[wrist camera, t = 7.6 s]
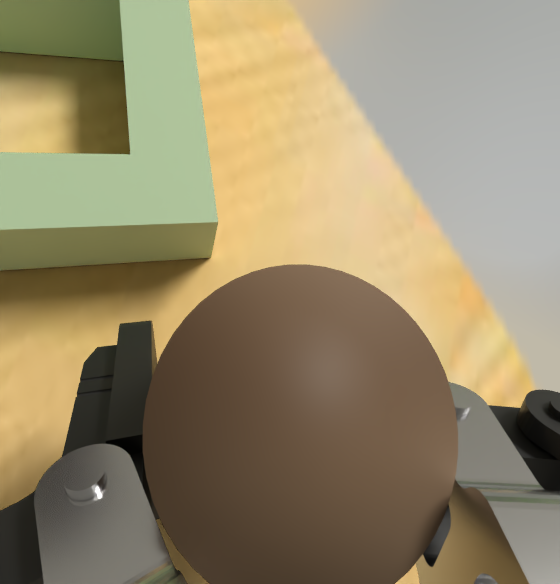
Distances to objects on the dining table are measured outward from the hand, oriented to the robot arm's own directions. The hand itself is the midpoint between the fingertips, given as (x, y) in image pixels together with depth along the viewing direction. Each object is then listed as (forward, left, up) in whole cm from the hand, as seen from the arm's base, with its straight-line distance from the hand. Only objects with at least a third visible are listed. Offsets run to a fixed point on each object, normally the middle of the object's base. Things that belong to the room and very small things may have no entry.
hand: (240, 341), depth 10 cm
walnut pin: (-2, 0, -4) cm, 5 cm away
